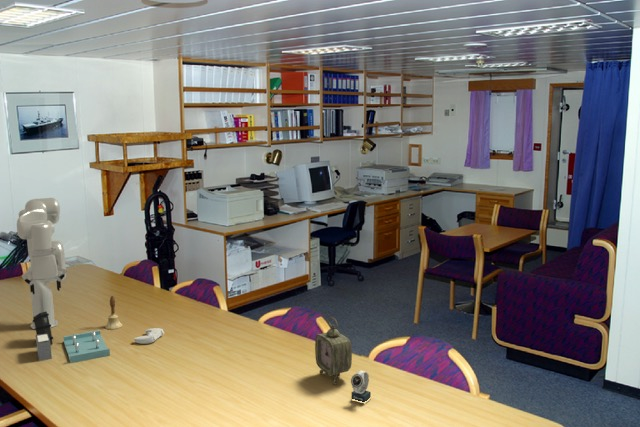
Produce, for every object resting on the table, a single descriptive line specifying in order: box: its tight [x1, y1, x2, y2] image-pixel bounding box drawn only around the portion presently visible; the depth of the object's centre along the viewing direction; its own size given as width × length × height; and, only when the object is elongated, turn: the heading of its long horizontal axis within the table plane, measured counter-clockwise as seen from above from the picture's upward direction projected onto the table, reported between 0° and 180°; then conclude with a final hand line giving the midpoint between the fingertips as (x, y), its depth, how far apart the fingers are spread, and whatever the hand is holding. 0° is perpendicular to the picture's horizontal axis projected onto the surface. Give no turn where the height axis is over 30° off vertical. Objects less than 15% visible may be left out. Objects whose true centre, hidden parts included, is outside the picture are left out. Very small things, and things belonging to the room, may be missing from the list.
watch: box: [350, 369, 371, 402], centre depth 210 cm, size 6×8×11 cm
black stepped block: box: [32, 311, 54, 346], centre depth 266 cm, size 4×13×15 cm, turn 46°
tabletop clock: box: [314, 317, 353, 385], centre depth 227 cm, size 14×9×25 cm, turn 29°
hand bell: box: [104, 295, 123, 330], centre depth 285 cm, size 8×8×16 cm
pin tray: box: [62, 329, 111, 364], centre depth 259 cm, size 26×16×5 cm, turn 30°
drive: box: [35, 333, 53, 362], centre depth 252 cm, size 12×5×8 cm, turn 30°
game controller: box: [133, 327, 165, 345], centre depth 270 cm, size 14×4×10 cm
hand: (46, 291), depth 245 cm, fingers open, 9 cm apart
